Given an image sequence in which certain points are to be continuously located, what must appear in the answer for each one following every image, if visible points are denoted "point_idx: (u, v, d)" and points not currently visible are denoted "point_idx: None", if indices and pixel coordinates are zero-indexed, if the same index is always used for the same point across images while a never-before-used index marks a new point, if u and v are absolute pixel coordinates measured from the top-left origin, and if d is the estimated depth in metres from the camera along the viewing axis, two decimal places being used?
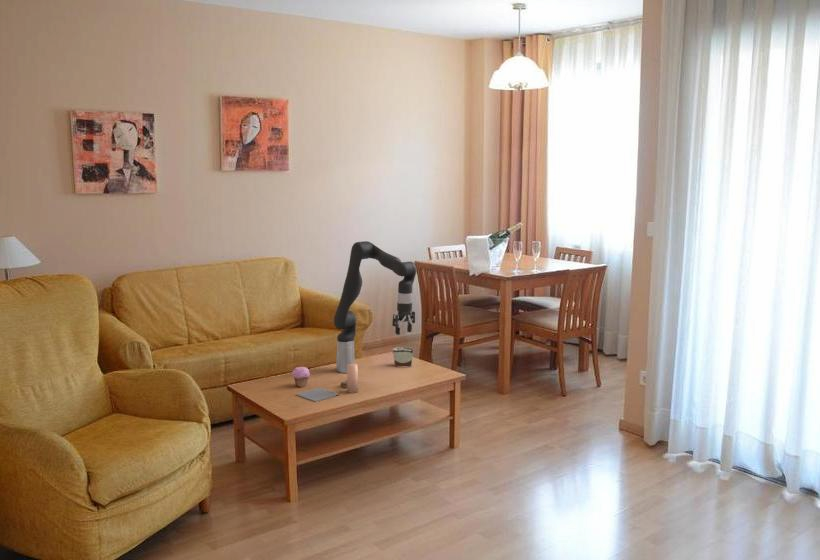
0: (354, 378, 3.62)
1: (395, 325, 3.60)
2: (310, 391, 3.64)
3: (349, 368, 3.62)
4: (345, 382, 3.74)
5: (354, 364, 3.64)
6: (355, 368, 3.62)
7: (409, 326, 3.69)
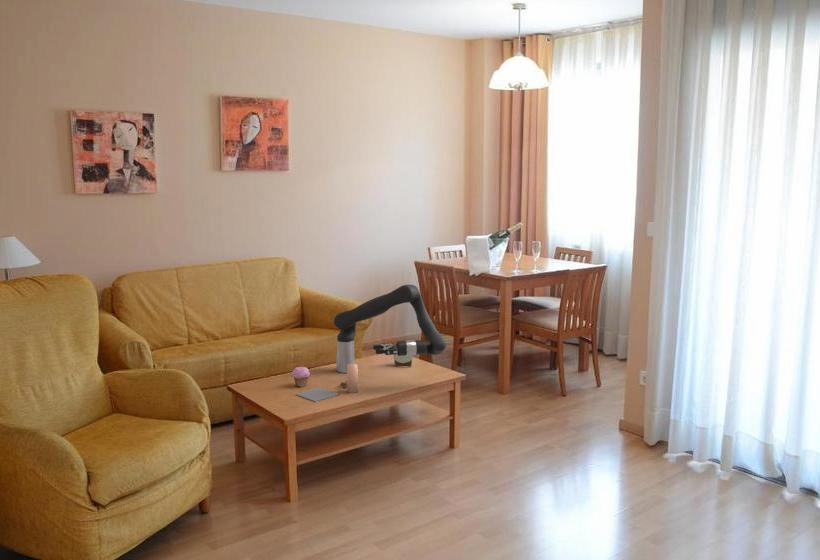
0: (354, 378, 3.62)
1: (387, 354, 3.59)
2: (310, 391, 3.64)
3: (349, 368, 3.62)
4: (345, 382, 3.73)
5: (354, 364, 3.64)
6: (355, 368, 3.62)
7: (379, 348, 3.69)
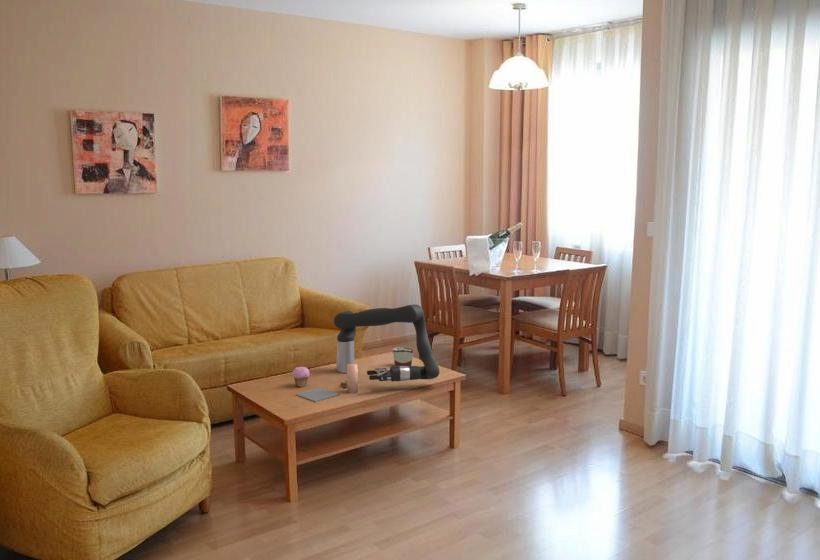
0: (354, 378, 3.62)
1: (380, 380, 3.60)
2: (310, 391, 3.64)
3: (349, 368, 3.62)
4: (345, 382, 3.73)
5: (354, 364, 3.64)
6: (355, 368, 3.62)
7: (372, 373, 3.71)
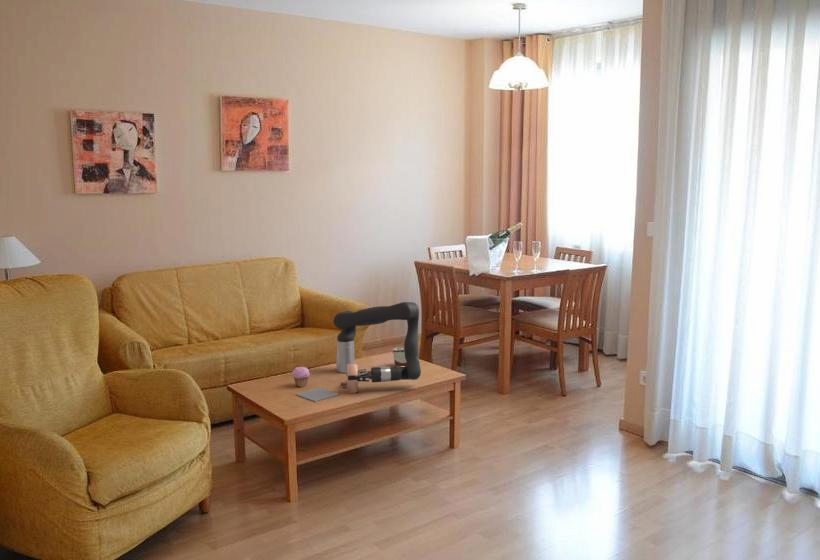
0: None
1: (359, 380, 3.60)
2: (310, 391, 3.64)
3: (349, 368, 3.62)
4: (345, 382, 3.73)
5: (354, 364, 3.64)
6: (355, 368, 3.62)
7: None
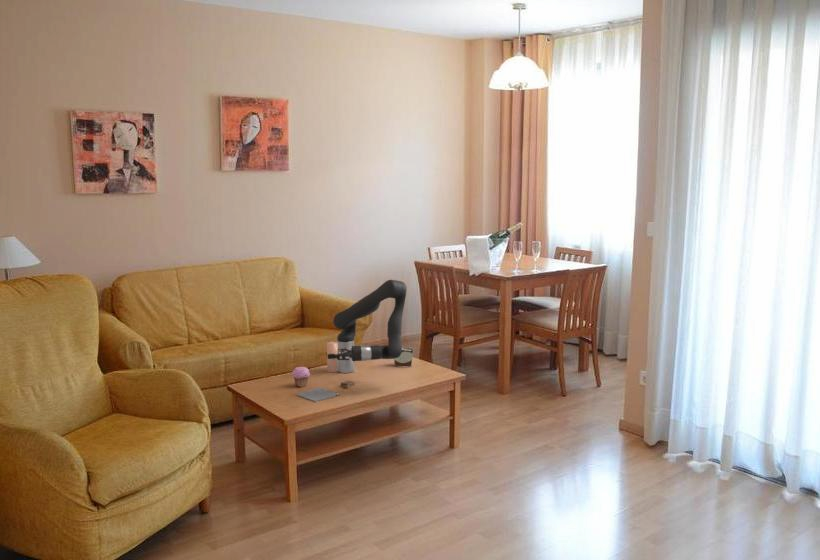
0: None
1: (338, 359, 3.54)
2: (310, 391, 3.64)
3: (329, 346, 3.56)
4: (345, 382, 3.73)
5: (334, 342, 3.58)
6: (335, 346, 3.57)
7: None
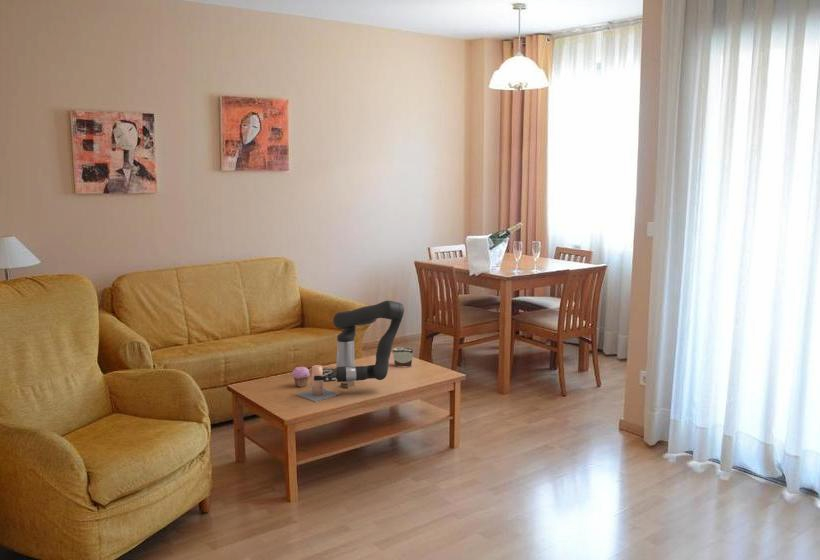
0: (318, 380, 3.56)
1: (325, 381, 3.52)
2: (310, 391, 3.64)
3: (314, 370, 3.56)
4: (345, 382, 3.73)
5: (319, 366, 3.58)
6: (320, 370, 3.56)
7: None
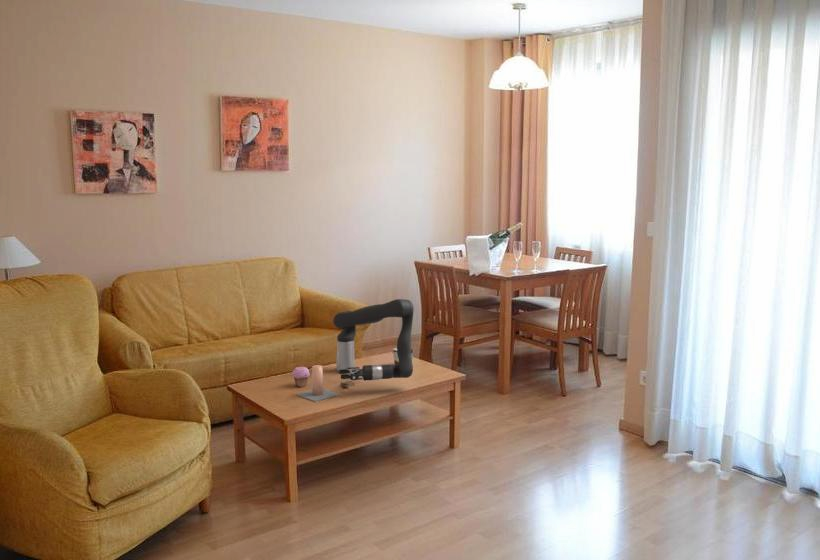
0: (318, 380, 3.56)
1: (352, 379, 3.55)
2: (310, 391, 3.64)
3: (314, 370, 3.56)
4: (345, 382, 3.73)
5: (319, 366, 3.58)
6: (320, 370, 3.56)
7: (345, 372, 3.65)
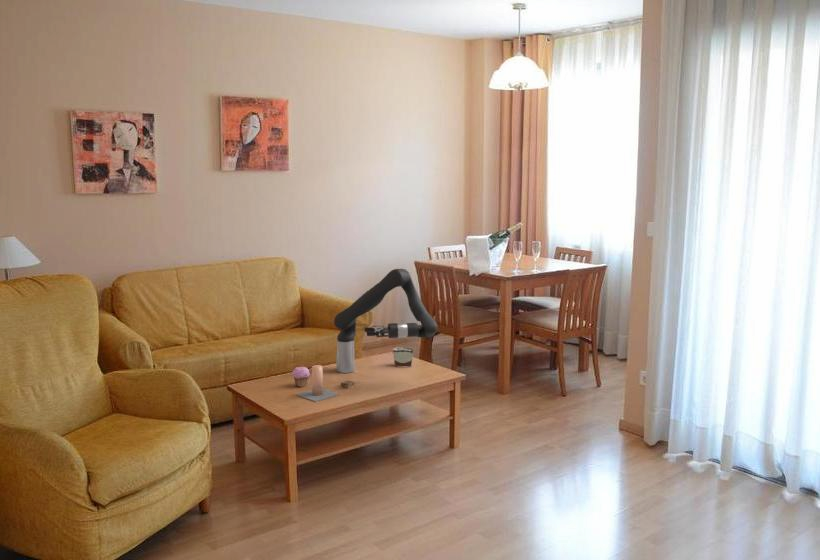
0: (318, 380, 3.56)
1: (378, 336, 3.58)
2: (310, 391, 3.64)
3: (314, 370, 3.56)
4: (345, 382, 3.73)
5: (319, 366, 3.58)
6: (320, 370, 3.56)
7: (370, 330, 3.68)
